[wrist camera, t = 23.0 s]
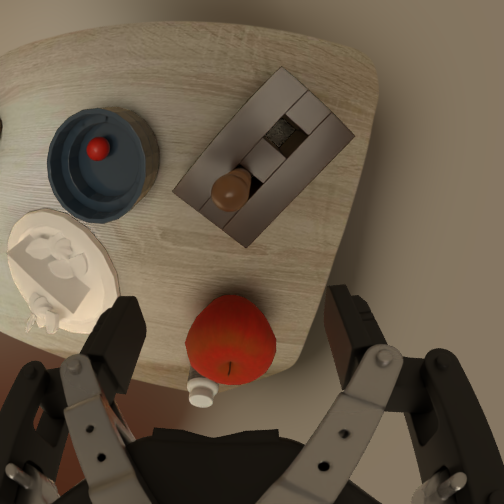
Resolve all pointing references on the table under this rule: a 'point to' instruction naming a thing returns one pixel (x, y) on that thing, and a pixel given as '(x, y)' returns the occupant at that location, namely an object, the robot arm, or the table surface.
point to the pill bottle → (201, 389)
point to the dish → (61, 271)
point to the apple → (231, 341)
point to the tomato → (98, 148)
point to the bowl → (102, 164)
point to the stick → (232, 190)
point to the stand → (266, 156)
